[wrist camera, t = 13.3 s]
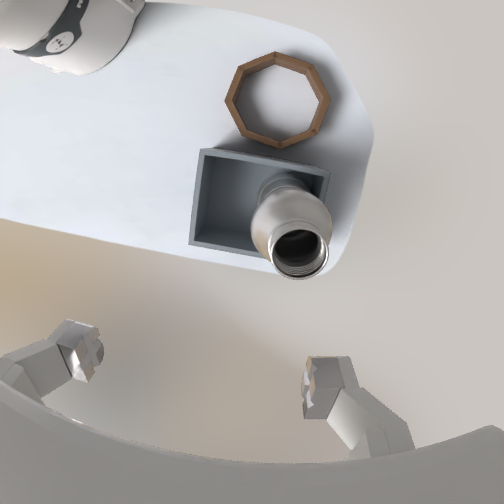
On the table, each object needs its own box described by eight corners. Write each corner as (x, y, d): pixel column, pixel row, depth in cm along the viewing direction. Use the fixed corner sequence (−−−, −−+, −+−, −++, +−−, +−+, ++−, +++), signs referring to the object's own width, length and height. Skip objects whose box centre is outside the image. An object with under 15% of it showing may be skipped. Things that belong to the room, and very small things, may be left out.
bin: (201, 227, 39) (188, 244, 32) (212, 147, 35) (200, 148, 28) (301, 245, 39) (307, 266, 32) (319, 167, 35) (330, 172, 28)
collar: (216, 83, 31) (212, 78, 28) (298, 50, 29) (300, 42, 26) (255, 159, 35) (254, 160, 32) (336, 126, 32) (342, 124, 30)
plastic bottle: (308, 220, 37) (346, 298, 18) (257, 220, 37) (246, 299, 19) (309, 171, 34) (357, 204, 16) (256, 171, 35) (243, 202, 16)
